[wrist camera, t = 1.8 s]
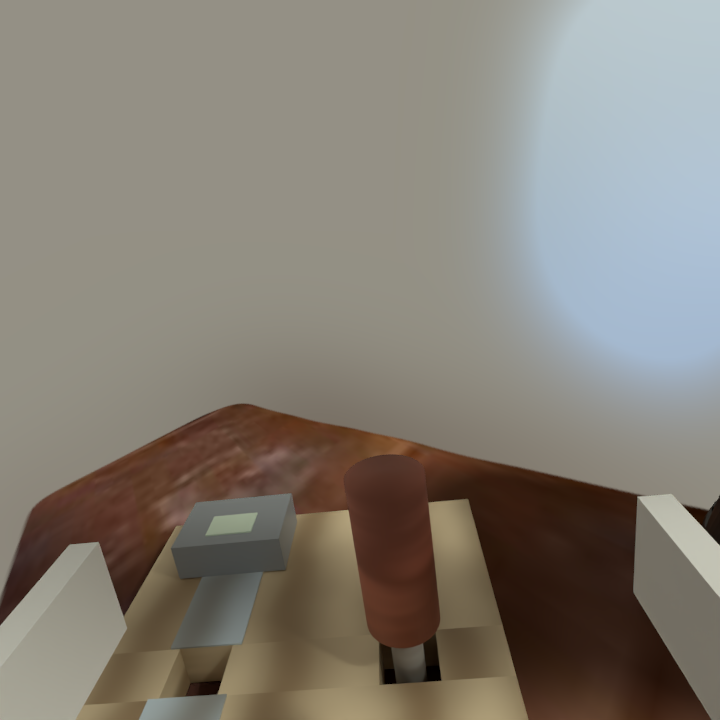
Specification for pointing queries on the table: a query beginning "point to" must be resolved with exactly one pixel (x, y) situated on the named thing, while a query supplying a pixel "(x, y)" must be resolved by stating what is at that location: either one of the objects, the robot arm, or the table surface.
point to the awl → (395, 557)
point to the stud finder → (236, 537)
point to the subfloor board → (308, 639)
